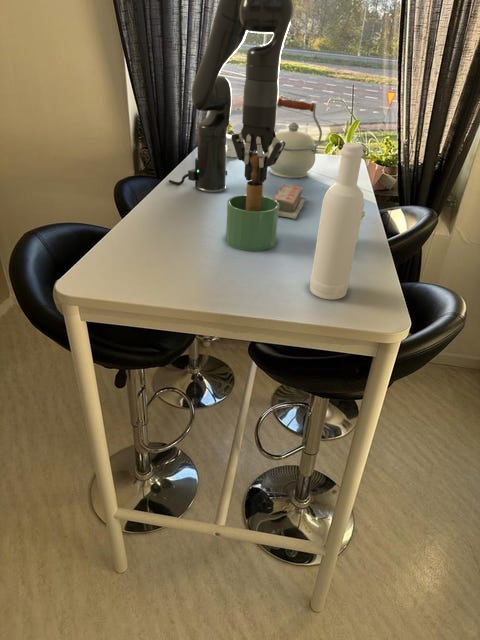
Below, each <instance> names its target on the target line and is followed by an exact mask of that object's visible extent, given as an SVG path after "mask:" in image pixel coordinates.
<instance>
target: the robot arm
mask: <svg viewBox="0 0 480 640" xmlns="http://www.w3.org/2000/svg"><path fill="white" fill-rule="evenodd" d="M293 14H294V2H293V0H218V3H217V7H216V10H215V14H214V17H213V22H212V26H211V30H210V34H209V37H208V40H207V44H206V47H205V50H204V53H203V56H202V59H201V61H200V64H199V67H198V70H197V72H196V74H195V77H194V79H193V83H192V87H191V102H192V104H193V107H194V109H196V110H198V111H200V112H209V114H208V115H207V116H206V117H205V119H203V120H201V121H200V122H199V123H198V124H197V157H195V158H194V168H191V169H189V170H187V173H186V174H184V175H183V176H182V177H181V181H175V180H172V179H168V183H170V184H173V185H177V186H178V185H179V186H180V185H182V184H184V182H185V179H186V178H187V179H188V181H192V182H194V187H195V188H196V189H197V190H198V191H201V192H204V193H211V194H213V193H221V192H224V191H225V190H226V188H227V187H226V184H227V183H226V179H227V176H228V171H227V156H226V152H227V135H228V129H229V126H230V124H231V123H230V121H231V111H232V95H233V94H232V93H233V92H232V86H231V83H230V81H229V79H228V78H226V77H225V76H223V75H220V73H221V71H222V69H223V68H224V66H225V65H226V63H227V62H228V61H229V60H230V58H231V57H233V56H234V54H235V53H236V52H237V51H238V50H239V48H240V47H241V45H242V44H243V43H244V41H245V39H246V36H247V34H248V32H249V33H255V34H256V33H257V34H273V35H272V38H271V39H270V41H269V42H268V43H266V44H262V45H257V46H252V47H250V48H249V49H248V50H247V52H246V61H245V63H246V64H245V80H244V81H245V82H244V87H243V97H242V98H243V99H242V100H243V101H242V118H241V119H242V120H241V121H242V123H241V124H242V128H241V129H240V132H237V133H234V134H231V135H232V136H231V138H232V141H233V144H234V148H235V151H236V154H237V157H236V158H237V160H238V161H242V162H243V164H244V178H245V180H246V181H247V182H249V181H252V178H251V172H252V171H253V167H252V164H251V162H250V157H251V155H252V154H254V153H257V155H258V157H259V166H260V167H259V168H258V183H260V184H261V183H263V184H264V183H265V181H267V178H268V167H269V166H271V165H274V164H275V163H276V161H277V159H278V158H279V156H280V154H281V152H282V150H283V148H284V146H285V142H284V141H282V142H281V141H280V140H278V139H277V138H276V134H275V133H276V132H275V129H276V125H277V124H276V123H277V114H278V111H277V102H278V99H279V77H280V76H279V75H280V64H281V55H282V50H283V48H284V43H285V40H286V37H287V34H288V31H289V28H290V26H291V22H292V19H293ZM272 143H273V146H272V148H273V150H272V152H271V154H270V156H269V147H270V145H271V144H272Z"/></svg>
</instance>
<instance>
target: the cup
mask: <svg viewBox="0 0 480 640" xmlns="http://www.w3.org/2000/svg"><path fill="white" fill-rule="evenodd" d="M246 196H247V194H239V195H235V196H234V195H233V196H232V197H230V198H228V199H227V201H226V227H225V229H226V230H225V241H226V243H227V245H229V246H231V247H232V248H234V249H237V250H239V251H240V250H241V251H246V252H261V251H262V252H263V251H267V250H270V249H272V248H273V247H274V246H275V245H276V242H277V235H278V224H279V217H280V216H279V203H278V202H277V201H276V200H274V199H272V198H273V197H269V196H265V195H262V205H261V211H246Z"/></svg>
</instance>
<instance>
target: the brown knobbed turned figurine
mask: <svg viewBox="0 0 480 640" xmlns="http://www.w3.org/2000/svg"><path fill="white" fill-rule="evenodd" d="M250 162H251V164H252V167H253V171H252V172H251V178H252V180H250V181H247V182H246V195H247V196H246V211H261V205H262V196H263V192H264V191H263V190H264V189H263V188H264V182H263V183H261V184H260V183H258V168H259V167H260V166H259V157H258V155H257V152H256V153H254V154H252V155H251V157H250Z"/></svg>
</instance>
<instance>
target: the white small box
mask: <svg viewBox="0 0 480 640" xmlns="http://www.w3.org/2000/svg"><path fill="white" fill-rule="evenodd" d="M232 135H233V134H227V152H226V157H231V158H238V157H237V154H236V151H235V148H234V144H233V141H232V138H231V136H232Z"/></svg>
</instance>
